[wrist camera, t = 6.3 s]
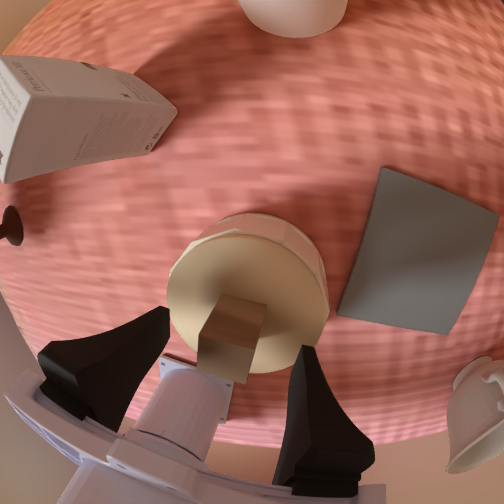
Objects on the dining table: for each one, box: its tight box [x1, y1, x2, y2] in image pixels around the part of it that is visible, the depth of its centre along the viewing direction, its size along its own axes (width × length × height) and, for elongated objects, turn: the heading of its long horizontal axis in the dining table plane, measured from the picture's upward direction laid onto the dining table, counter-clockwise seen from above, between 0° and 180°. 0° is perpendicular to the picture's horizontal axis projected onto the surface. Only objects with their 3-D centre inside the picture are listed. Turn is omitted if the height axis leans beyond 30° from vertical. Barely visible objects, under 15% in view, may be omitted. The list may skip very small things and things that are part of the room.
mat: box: [336, 167, 499, 335], centre depth 17 cm, size 11×11×1 cm
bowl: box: [170, 213, 330, 347], centre depth 18 cm, size 10×10×4 cm
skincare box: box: [0, 55, 178, 184], centre depth 11 cm, size 6×4×12 cm
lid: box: [166, 234, 325, 385], centre depth 14 cm, size 10×10×5 cm
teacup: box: [445, 356, 504, 474], centre depth 15 cm, size 12×15×10 cm
